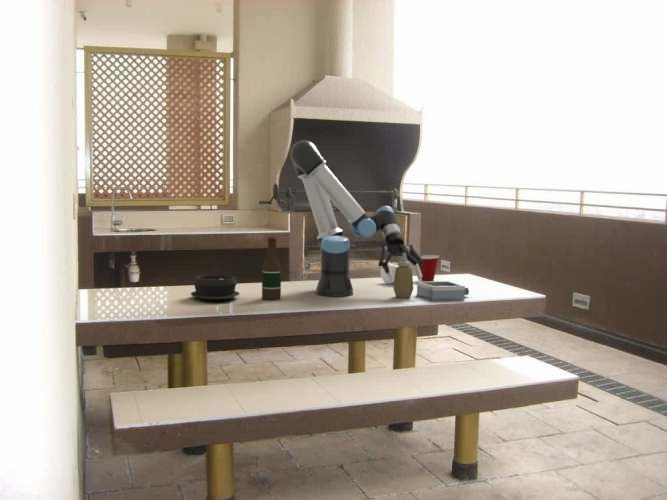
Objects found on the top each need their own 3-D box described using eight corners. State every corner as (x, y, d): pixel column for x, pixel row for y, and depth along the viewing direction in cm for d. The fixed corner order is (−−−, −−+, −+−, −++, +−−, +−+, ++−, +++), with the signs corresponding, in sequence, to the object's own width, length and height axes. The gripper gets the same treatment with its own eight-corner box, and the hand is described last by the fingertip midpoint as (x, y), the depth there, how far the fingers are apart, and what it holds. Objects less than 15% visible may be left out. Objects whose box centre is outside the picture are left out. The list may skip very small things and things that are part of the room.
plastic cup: (412, 279, 328) (413, 254, 327) (433, 278, 331) (433, 254, 330) (420, 282, 318) (421, 256, 316) (442, 281, 320) (442, 256, 319)
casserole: (243, 303, 251) (243, 281, 250) (192, 304, 246) (192, 281, 245) (235, 293, 275) (235, 272, 274) (189, 294, 270) (188, 273, 270)
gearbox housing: (432, 300, 265) (432, 287, 264) (416, 294, 279) (417, 281, 278) (475, 299, 270) (476, 285, 270) (458, 293, 284) (458, 280, 284)
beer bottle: (265, 301, 257) (266, 238, 254) (258, 297, 264) (258, 236, 261) (284, 299, 260) (285, 237, 258) (276, 296, 267) (277, 236, 265)
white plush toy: (381, 285, 307) (382, 265, 306) (379, 281, 319) (379, 262, 318) (406, 285, 307) (407, 265, 306) (403, 281, 319) (403, 262, 318)
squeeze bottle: (412, 299, 268) (413, 254, 266) (391, 298, 269) (393, 253, 268) (413, 296, 275) (415, 252, 274) (394, 295, 277) (395, 251, 275)
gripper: (416, 243, 289) (430, 283, 275) (363, 243, 282) (375, 284, 268) (422, 231, 283) (436, 272, 270) (368, 231, 276) (380, 273, 263)
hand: (406, 278), depth 269 cm, fingers open, 12 cm apart
